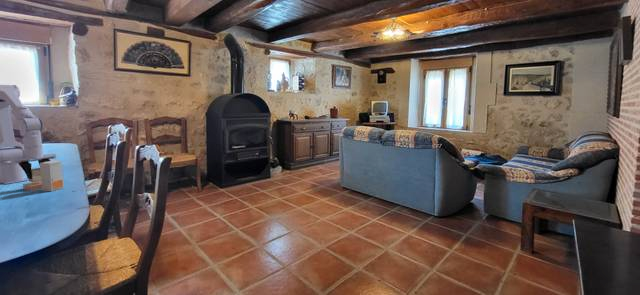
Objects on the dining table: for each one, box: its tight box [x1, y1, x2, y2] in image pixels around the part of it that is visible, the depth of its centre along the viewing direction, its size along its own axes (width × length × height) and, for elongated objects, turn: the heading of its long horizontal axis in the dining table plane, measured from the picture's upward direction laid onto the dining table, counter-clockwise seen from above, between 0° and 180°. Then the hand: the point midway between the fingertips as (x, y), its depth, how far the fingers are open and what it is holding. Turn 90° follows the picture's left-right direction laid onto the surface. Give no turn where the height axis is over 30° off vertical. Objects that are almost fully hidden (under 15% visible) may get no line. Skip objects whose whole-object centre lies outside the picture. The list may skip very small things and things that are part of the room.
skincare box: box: [39, 160, 65, 192], centre depth 127 cm, size 6×4×12 cm
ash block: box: [28, 167, 41, 183], centre depth 129 cm, size 4×4×5 cm
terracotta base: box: [22, 181, 42, 192], centre depth 130 cm, size 7×7×2 cm
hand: (36, 177), depth 129 cm, fingers closed on ash block, 4 cm apart
